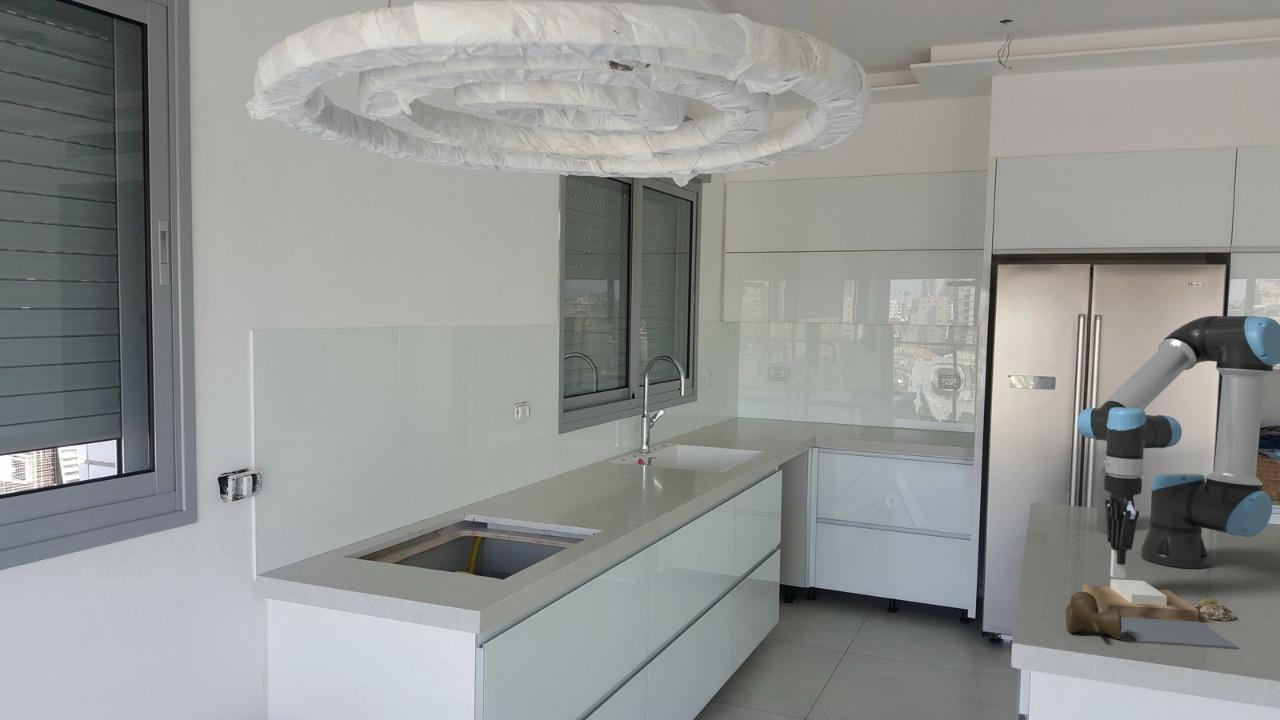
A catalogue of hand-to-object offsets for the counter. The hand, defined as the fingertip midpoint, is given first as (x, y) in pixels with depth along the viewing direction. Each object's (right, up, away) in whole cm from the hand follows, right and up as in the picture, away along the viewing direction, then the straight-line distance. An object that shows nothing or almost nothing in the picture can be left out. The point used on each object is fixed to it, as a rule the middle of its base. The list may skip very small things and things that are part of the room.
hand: (1117, 576), depth 202 cm
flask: (+32, -2, +65) cm, 72 cm away
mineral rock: (+13, -5, -13) cm, 19 cm away
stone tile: (-1, -2, -10) cm, 11 cm away
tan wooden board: (-1, -4, -11) cm, 12 cm away
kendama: (-19, -5, -24) cm, 31 cm away
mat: (-3, -5, -26) cm, 26 cm away
